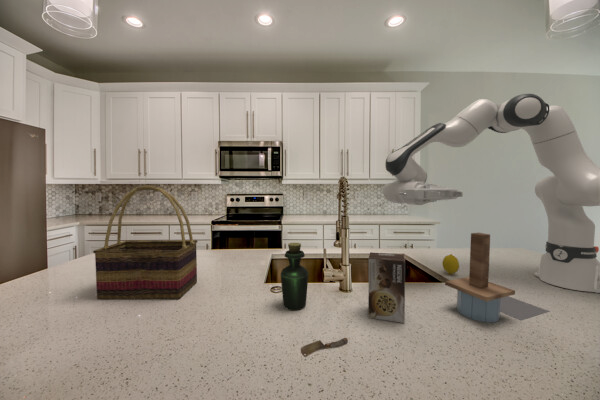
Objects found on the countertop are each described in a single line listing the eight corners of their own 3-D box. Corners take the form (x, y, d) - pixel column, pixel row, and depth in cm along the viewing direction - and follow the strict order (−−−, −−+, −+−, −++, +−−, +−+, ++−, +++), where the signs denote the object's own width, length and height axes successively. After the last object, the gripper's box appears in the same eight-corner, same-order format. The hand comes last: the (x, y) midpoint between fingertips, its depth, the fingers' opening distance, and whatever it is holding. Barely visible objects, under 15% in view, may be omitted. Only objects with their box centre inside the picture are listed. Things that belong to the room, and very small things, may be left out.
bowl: (471, 304, 73) (472, 281, 73) (507, 320, 65) (509, 293, 64) (449, 309, 70) (450, 285, 70) (484, 327, 61) (485, 299, 61)
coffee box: (403, 312, 69) (404, 254, 68) (404, 324, 63) (406, 260, 62) (369, 306, 72) (369, 251, 71) (367, 317, 66) (368, 257, 65)
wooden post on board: (471, 279, 74) (473, 229, 73) (514, 294, 64) (517, 236, 63) (445, 284, 70) (446, 231, 69) (486, 301, 60) (488, 239, 59)
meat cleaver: (294, 345, 55) (297, 361, 51) (294, 340, 55) (297, 356, 50) (345, 339, 57) (353, 354, 52) (345, 334, 57) (353, 349, 52)
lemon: (461, 277, 95) (461, 256, 95) (445, 276, 97) (445, 255, 96) (455, 272, 101) (455, 252, 100) (440, 271, 102) (440, 252, 102)
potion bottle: (292, 296, 79) (291, 239, 78) (314, 303, 74) (314, 243, 73) (274, 306, 72) (274, 244, 71) (297, 315, 67) (297, 248, 66)
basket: (92, 300, 76) (87, 185, 74) (126, 282, 90) (122, 185, 89) (180, 300, 76) (177, 185, 74) (199, 282, 91) (197, 185, 89)
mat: (497, 294, 81) (497, 292, 81) (549, 313, 68) (550, 311, 68) (470, 300, 76) (470, 299, 76) (520, 322, 64) (520, 320, 64)
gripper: (395, 184, 90) (427, 184, 77) (437, 185, 98) (472, 184, 85) (395, 202, 91) (427, 204, 78) (436, 201, 98) (472, 203, 85)
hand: (451, 194), depth 81 cm, fingers open, 8 cm apart
